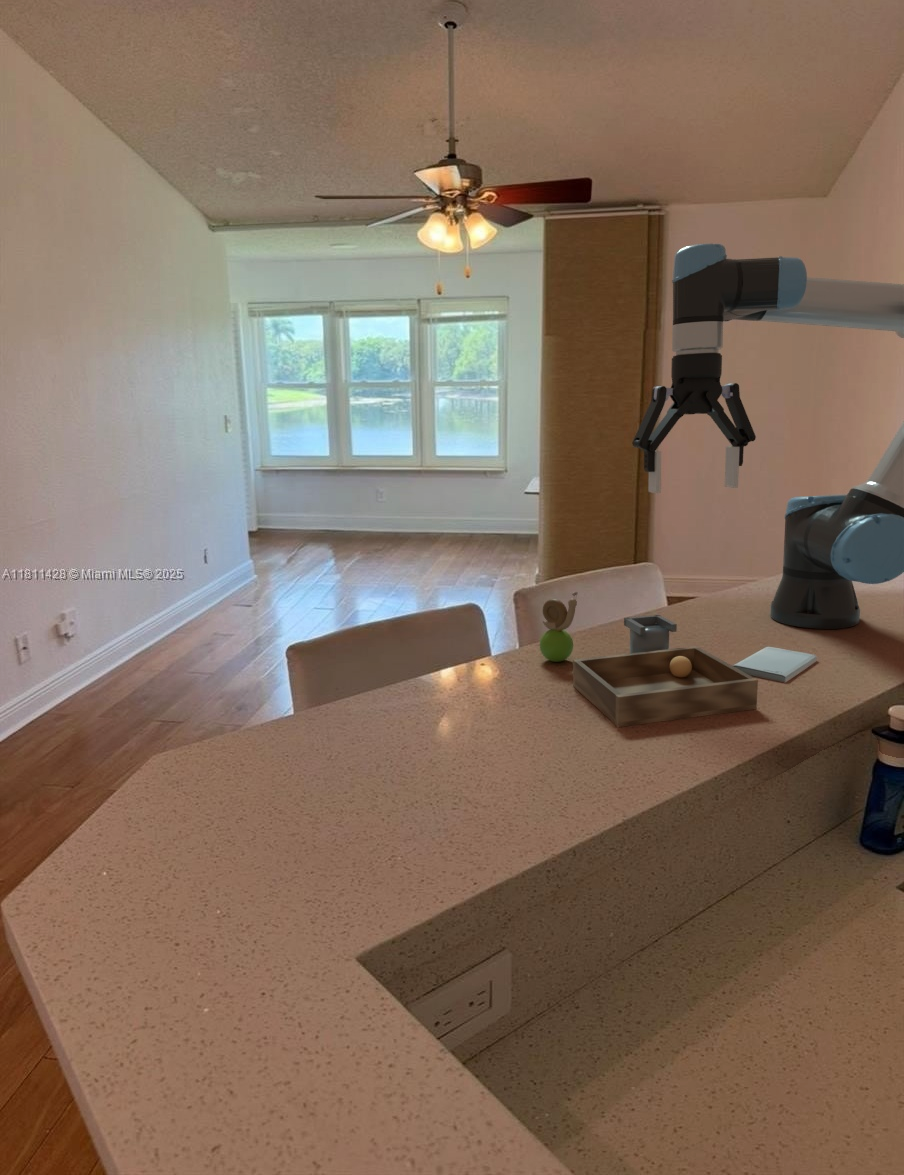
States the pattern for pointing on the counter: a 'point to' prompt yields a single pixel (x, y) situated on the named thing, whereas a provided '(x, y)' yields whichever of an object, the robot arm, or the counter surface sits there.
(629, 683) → the tray
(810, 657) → the hard drive
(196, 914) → the counter surface
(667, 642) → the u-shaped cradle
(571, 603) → the snail figurine
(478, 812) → the counter surface
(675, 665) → the ball
